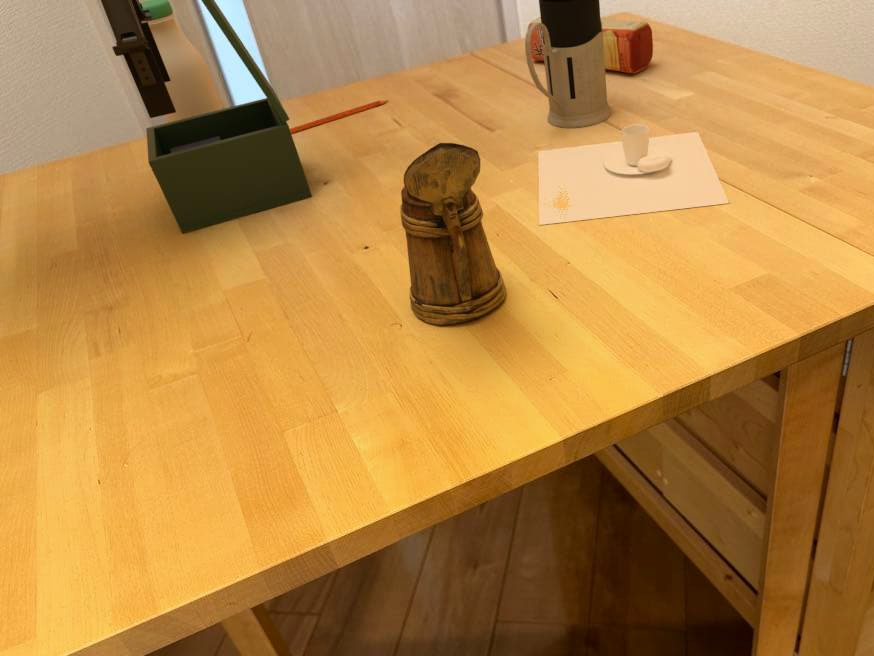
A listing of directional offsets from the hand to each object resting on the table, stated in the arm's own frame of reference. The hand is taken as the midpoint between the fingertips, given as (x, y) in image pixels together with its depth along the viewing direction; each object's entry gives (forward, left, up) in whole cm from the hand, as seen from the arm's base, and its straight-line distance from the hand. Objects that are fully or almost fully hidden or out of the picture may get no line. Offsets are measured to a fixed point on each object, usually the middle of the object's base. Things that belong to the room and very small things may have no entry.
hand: (161, 98), depth 88 cm
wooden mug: (+42, -19, -13) cm, 49 cm away
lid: (+7, +6, +4) cm, 10 cm away
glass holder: (+40, +26, -13) cm, 50 cm away
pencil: (+3, +29, -14) cm, 32 cm away
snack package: (+37, +50, -13) cm, 64 cm away
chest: (+3, +3, -13) cm, 14 cm away
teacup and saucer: (+51, +10, -13) cm, 54 cm away
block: (+1, +1, -12) cm, 13 cm away
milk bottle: (-11, +16, -13) cm, 23 cm away
